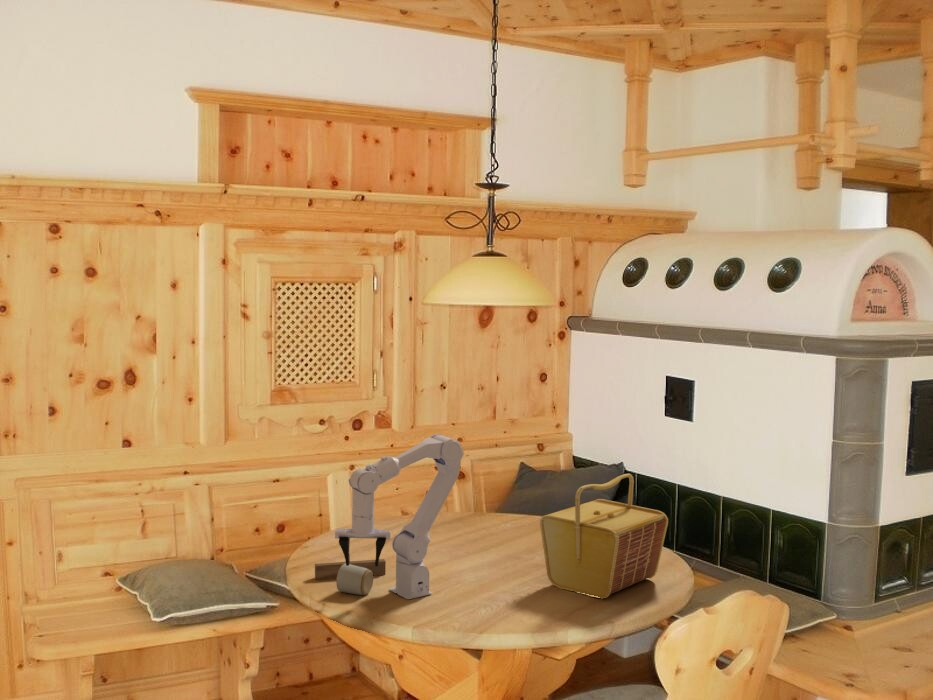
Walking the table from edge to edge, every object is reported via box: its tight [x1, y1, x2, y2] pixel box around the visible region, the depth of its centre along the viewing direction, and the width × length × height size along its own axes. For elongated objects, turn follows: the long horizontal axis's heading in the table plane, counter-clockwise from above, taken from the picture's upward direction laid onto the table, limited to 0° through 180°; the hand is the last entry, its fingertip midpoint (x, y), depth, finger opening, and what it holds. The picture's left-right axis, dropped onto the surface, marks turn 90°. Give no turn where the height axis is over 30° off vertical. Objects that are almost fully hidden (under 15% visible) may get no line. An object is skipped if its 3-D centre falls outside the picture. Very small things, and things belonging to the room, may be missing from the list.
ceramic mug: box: [336, 563, 374, 596], centre depth 274 cm, size 11×8×8 cm
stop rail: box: [314, 558, 387, 581], centre depth 286 cm, size 2×20×4 cm, turn 107°
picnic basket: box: [539, 473, 669, 599], centre depth 284 cm, size 29×26×30 cm
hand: (362, 564), depth 266 cm, fingers open, 7 cm apart
